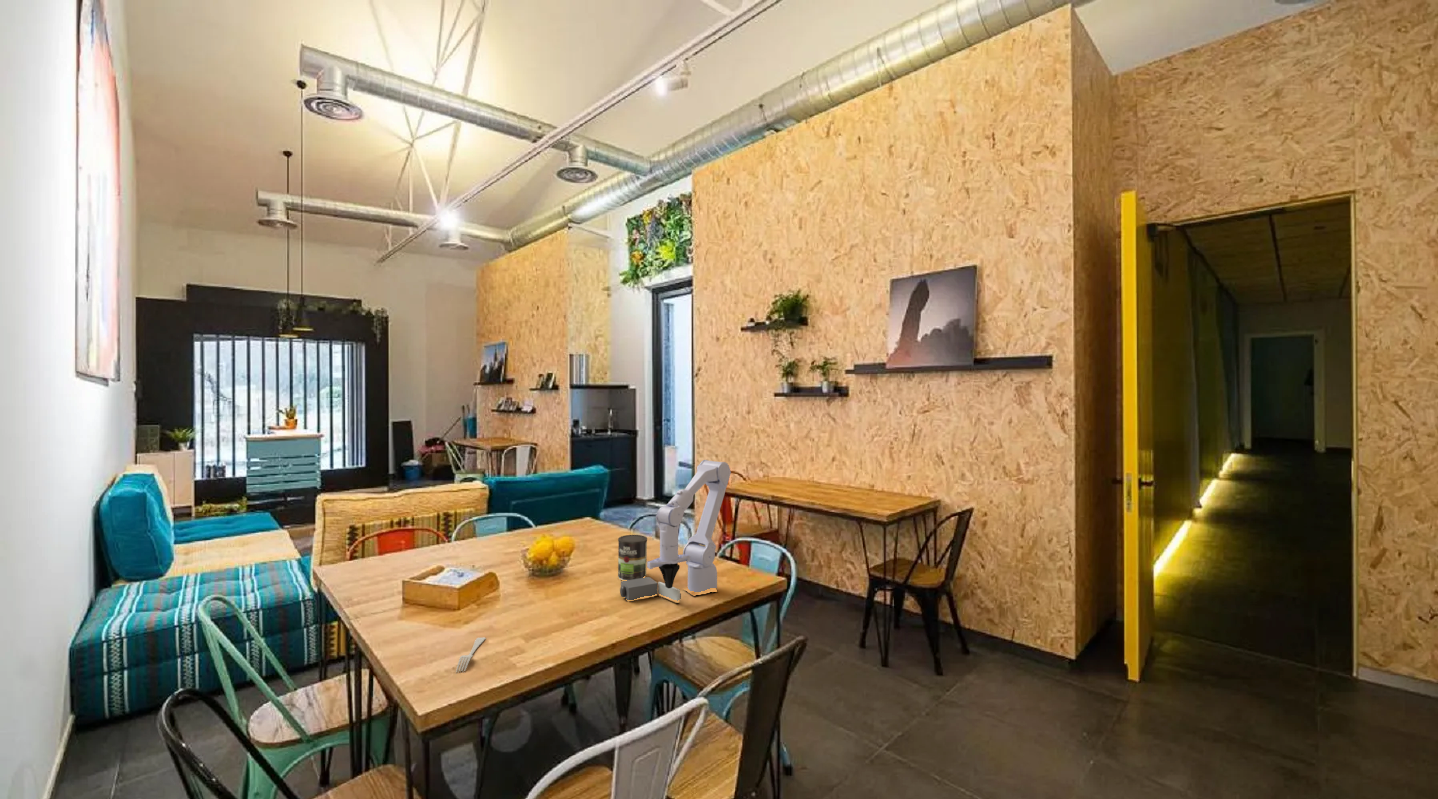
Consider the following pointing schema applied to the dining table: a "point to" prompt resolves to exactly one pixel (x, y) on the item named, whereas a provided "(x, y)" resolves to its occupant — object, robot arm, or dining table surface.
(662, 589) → the side door
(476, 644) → the fork
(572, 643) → the dining table surface
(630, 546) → the coffee can
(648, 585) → the camera case
